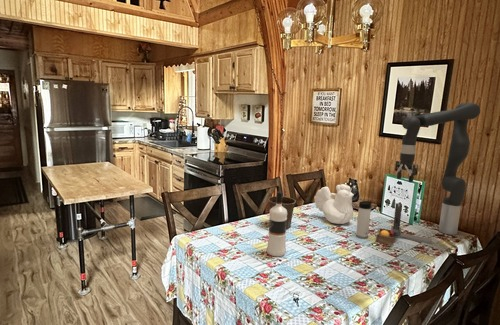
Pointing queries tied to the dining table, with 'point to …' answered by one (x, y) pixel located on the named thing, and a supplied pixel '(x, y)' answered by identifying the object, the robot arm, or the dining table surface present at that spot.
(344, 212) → the decorative rooster
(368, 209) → the travel mug
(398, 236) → the rail
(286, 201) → the plant pot
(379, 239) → the brown wooden block
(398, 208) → the kicker
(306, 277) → the dining table surface
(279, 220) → the vodka
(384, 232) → the ball
